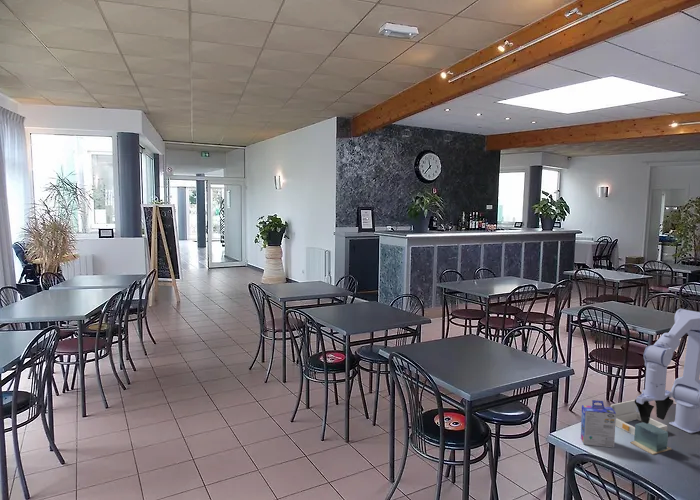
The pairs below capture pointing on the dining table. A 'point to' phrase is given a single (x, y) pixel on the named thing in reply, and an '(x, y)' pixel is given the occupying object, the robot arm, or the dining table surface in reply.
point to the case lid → (624, 407)
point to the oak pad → (648, 448)
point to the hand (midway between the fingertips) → (652, 420)
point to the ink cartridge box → (598, 425)
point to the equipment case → (633, 416)
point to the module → (651, 436)
